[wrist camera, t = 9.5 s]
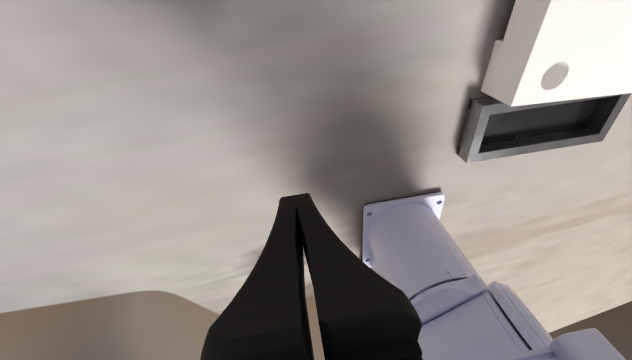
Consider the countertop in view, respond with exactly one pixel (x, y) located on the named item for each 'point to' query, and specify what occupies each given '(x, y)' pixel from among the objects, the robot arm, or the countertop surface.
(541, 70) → the bracket
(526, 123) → the trap pits
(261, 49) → the countertop surface
